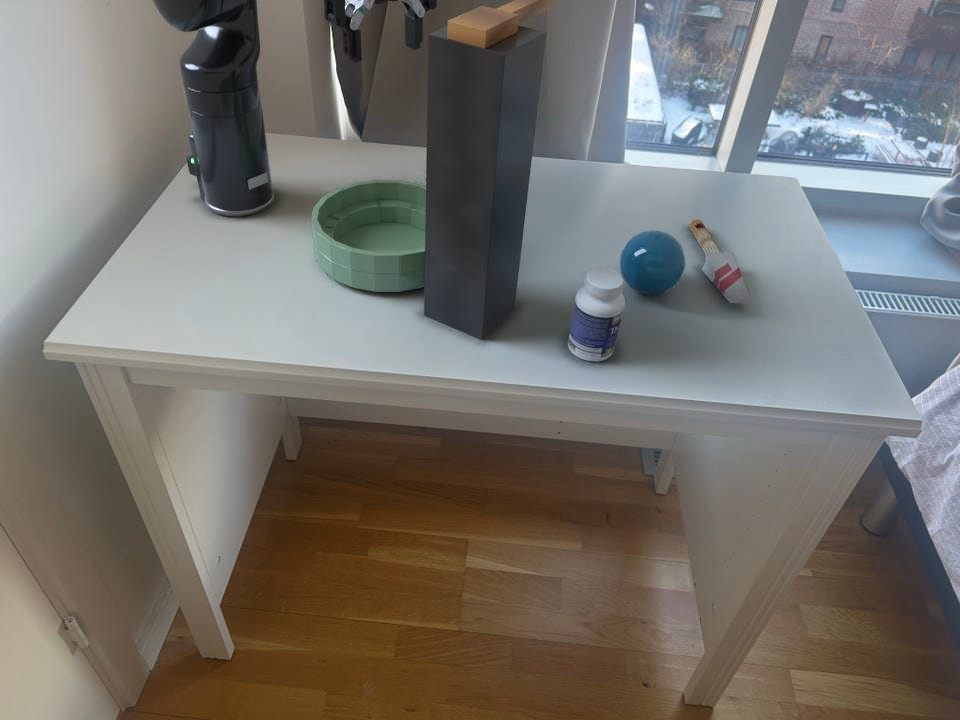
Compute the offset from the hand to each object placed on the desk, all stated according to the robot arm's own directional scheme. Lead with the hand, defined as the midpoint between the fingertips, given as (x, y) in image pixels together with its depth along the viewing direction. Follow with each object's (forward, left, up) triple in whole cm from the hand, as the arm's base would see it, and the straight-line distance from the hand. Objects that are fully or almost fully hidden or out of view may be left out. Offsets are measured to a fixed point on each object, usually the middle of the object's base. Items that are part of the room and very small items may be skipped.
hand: (384, 54), depth 90 cm
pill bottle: (+36, -11, -22) cm, 44 cm away
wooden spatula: (+21, -9, +10) cm, 25 cm away
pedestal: (+21, -13, -22) cm, 33 cm away
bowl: (+6, -9, -22) cm, 25 cm away
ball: (+37, +4, -22) cm, 44 cm away
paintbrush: (+43, +14, -22) cm, 51 cm away
